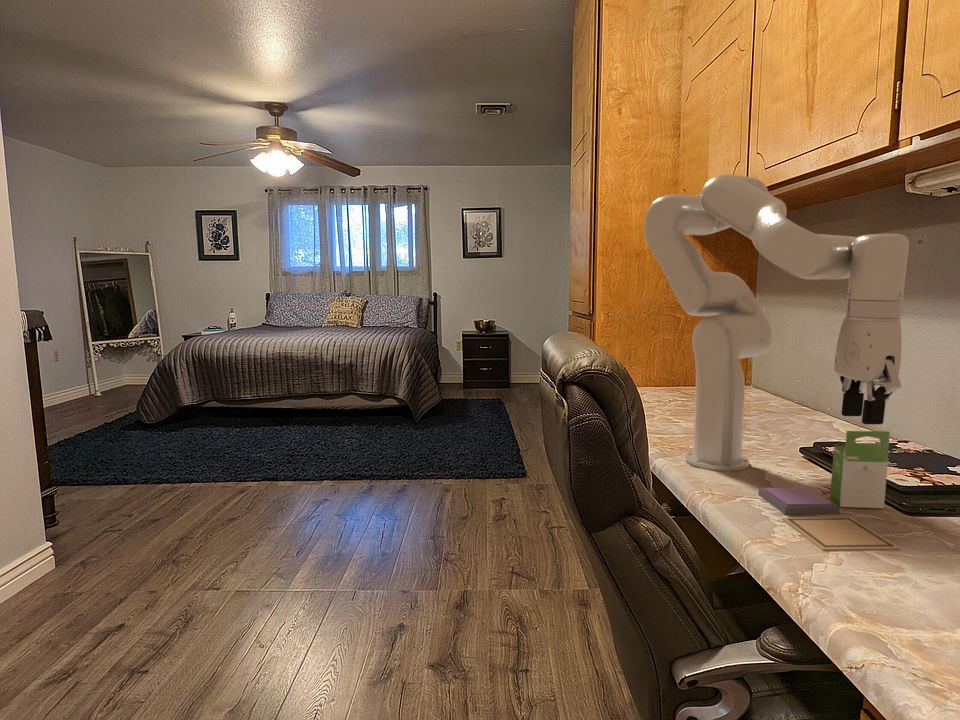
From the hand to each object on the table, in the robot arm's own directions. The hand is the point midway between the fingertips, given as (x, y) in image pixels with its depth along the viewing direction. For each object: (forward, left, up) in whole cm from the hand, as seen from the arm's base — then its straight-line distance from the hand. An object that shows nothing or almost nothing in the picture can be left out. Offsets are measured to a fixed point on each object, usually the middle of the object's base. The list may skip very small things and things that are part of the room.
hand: (861, 418), depth 97 cm
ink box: (0, 0, -15) cm, 15 cm away
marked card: (+12, -10, -15) cm, 21 cm away
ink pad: (0, -10, -15) cm, 18 cm away
